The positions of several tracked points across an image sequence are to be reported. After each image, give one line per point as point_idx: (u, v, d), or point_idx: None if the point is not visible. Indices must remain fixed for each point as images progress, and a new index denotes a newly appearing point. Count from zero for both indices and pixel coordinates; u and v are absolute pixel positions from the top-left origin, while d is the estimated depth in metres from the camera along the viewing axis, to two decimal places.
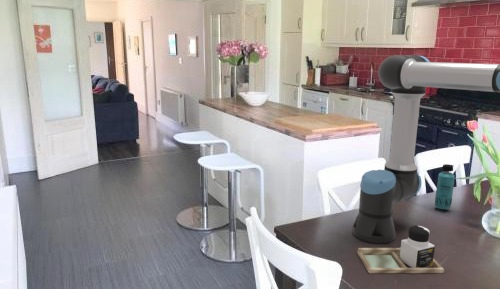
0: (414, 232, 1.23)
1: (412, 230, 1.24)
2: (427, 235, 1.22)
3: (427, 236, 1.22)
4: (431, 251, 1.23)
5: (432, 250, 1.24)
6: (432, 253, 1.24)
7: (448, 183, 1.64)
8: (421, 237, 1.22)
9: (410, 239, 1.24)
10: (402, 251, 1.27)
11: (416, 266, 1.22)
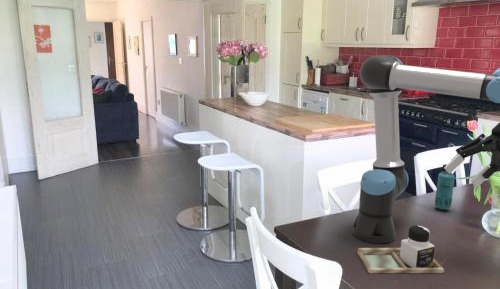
0: (414, 232, 1.23)
1: (412, 230, 1.24)
2: (427, 235, 1.22)
3: (427, 236, 1.22)
4: (431, 251, 1.23)
5: (432, 250, 1.24)
6: (432, 253, 1.24)
7: (448, 183, 1.64)
8: (421, 237, 1.22)
9: (410, 239, 1.24)
10: (402, 251, 1.27)
11: (416, 266, 1.22)
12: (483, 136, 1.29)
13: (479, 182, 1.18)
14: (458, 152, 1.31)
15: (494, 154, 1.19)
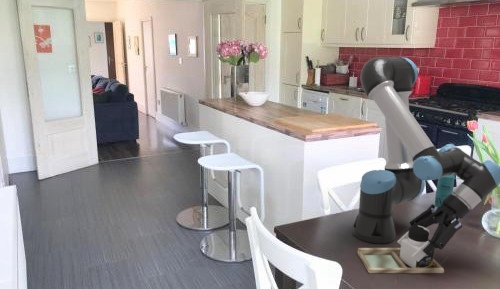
0: (414, 231, 1.23)
1: (412, 230, 1.24)
2: (427, 235, 1.22)
3: (427, 236, 1.22)
4: (431, 251, 1.23)
5: None
6: (432, 253, 1.24)
7: (448, 183, 1.64)
8: (420, 237, 1.22)
9: (410, 239, 1.24)
10: (402, 250, 1.27)
11: (416, 266, 1.22)
12: (433, 207, 1.30)
13: (420, 257, 1.21)
14: None
15: (439, 229, 1.21)
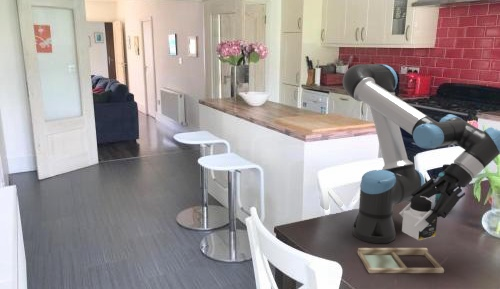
0: (416, 201, 1.21)
1: (414, 200, 1.22)
2: (429, 204, 1.20)
3: (429, 205, 1.20)
4: (434, 221, 1.21)
5: (435, 219, 1.22)
6: (435, 223, 1.22)
7: None
8: (423, 207, 1.20)
9: (412, 209, 1.22)
10: (404, 222, 1.25)
11: (419, 236, 1.20)
12: (435, 177, 1.28)
13: (422, 227, 1.19)
14: None
15: (441, 198, 1.19)
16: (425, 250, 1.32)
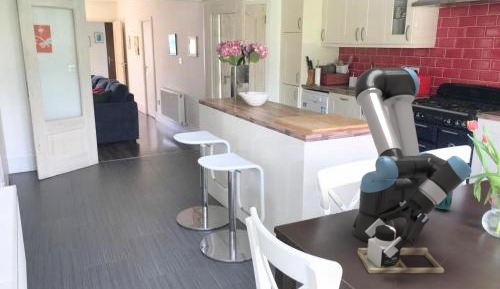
0: (379, 231, 1.23)
1: (378, 229, 1.23)
2: (392, 234, 1.22)
3: (392, 235, 1.22)
4: None
5: None
6: (398, 253, 1.23)
7: None
8: (385, 236, 1.21)
9: (376, 238, 1.24)
10: (369, 249, 1.27)
11: (381, 265, 1.22)
12: (402, 201, 1.29)
13: (392, 253, 1.18)
14: (379, 216, 1.32)
15: (407, 224, 1.19)
16: (425, 250, 1.32)
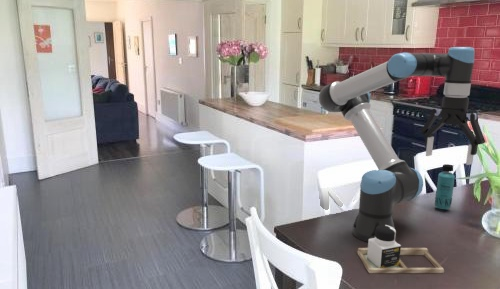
0: (379, 231, 1.23)
1: (378, 229, 1.23)
2: (392, 234, 1.22)
3: (392, 235, 1.22)
4: (397, 250, 1.23)
5: (398, 249, 1.23)
6: (398, 253, 1.23)
7: (448, 183, 1.64)
8: (386, 236, 1.21)
9: (376, 238, 1.24)
10: (369, 249, 1.27)
11: (381, 265, 1.22)
12: (435, 111, 1.33)
13: (471, 159, 1.27)
14: (426, 135, 1.37)
15: (465, 130, 1.26)
16: (425, 250, 1.32)
